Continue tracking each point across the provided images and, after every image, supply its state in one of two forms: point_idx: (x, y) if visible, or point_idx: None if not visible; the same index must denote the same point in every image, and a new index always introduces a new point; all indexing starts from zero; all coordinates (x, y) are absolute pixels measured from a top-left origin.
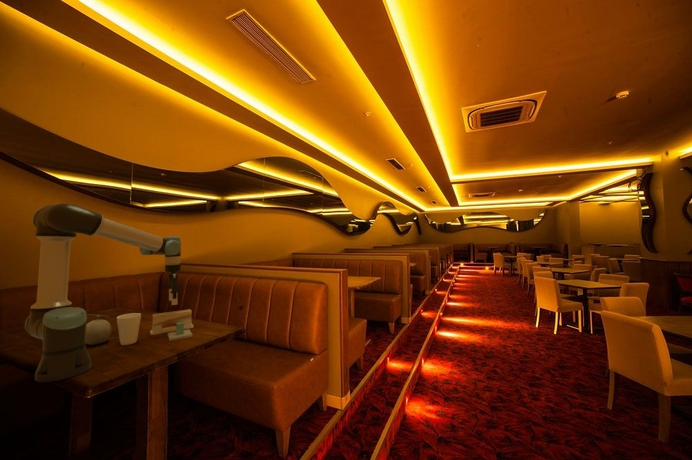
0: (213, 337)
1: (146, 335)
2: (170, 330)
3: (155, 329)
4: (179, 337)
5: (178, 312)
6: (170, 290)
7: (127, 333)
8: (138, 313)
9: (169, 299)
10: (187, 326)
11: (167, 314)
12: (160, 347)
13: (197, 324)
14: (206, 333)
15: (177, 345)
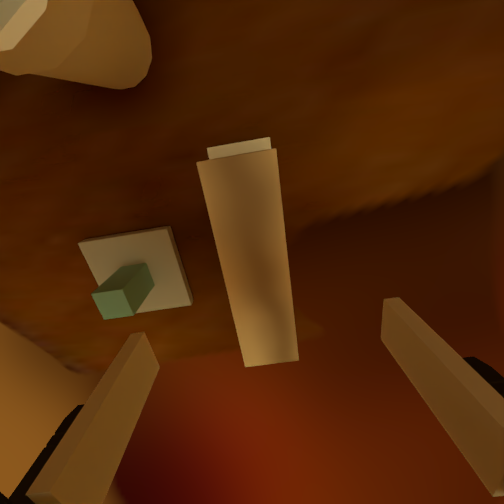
0: (87, 363)
1: (215, 126)
2: None
3: None
4: (95, 275)
5: (241, 311)
6: (485, 427)
7: (6, 8)
8: (27, 12)
9: (391, 309)
10: None
11: (219, 254)
12: (5, 213)
13: None
14: None
15: (21, 269)
